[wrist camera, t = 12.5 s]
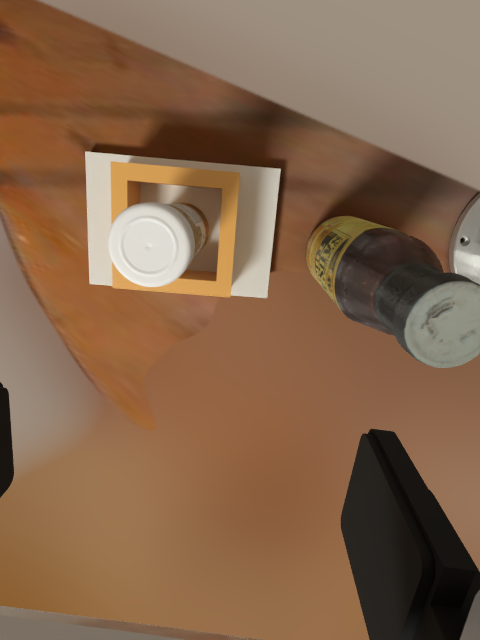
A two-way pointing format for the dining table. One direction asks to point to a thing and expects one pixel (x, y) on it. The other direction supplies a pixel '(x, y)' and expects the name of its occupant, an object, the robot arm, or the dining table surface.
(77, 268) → the dining table surface
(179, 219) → the sprinkles bottle
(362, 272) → the sauce bottle
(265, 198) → the socket base
